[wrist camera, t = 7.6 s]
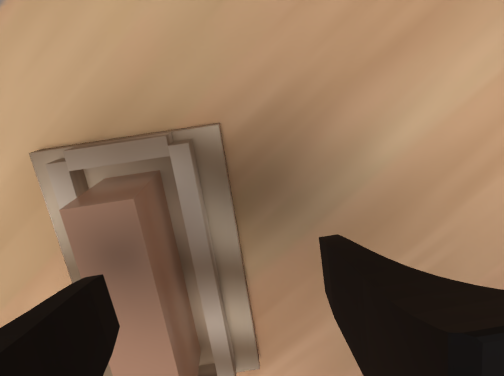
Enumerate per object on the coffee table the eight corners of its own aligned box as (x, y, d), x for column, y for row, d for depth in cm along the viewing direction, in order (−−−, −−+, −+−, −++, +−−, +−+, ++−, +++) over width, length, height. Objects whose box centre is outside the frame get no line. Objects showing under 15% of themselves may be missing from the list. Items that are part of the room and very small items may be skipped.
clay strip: (200, 351, 22) (191, 424, 17) (154, 358, 22) (131, 434, 17) (159, 169, 18) (133, 198, 14) (104, 178, 18) (59, 210, 14)
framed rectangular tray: (258, 357, 23) (261, 388, 21) (113, 379, 23) (100, 413, 21) (219, 122, 19) (217, 127, 17) (39, 149, 19) (10, 159, 16)
